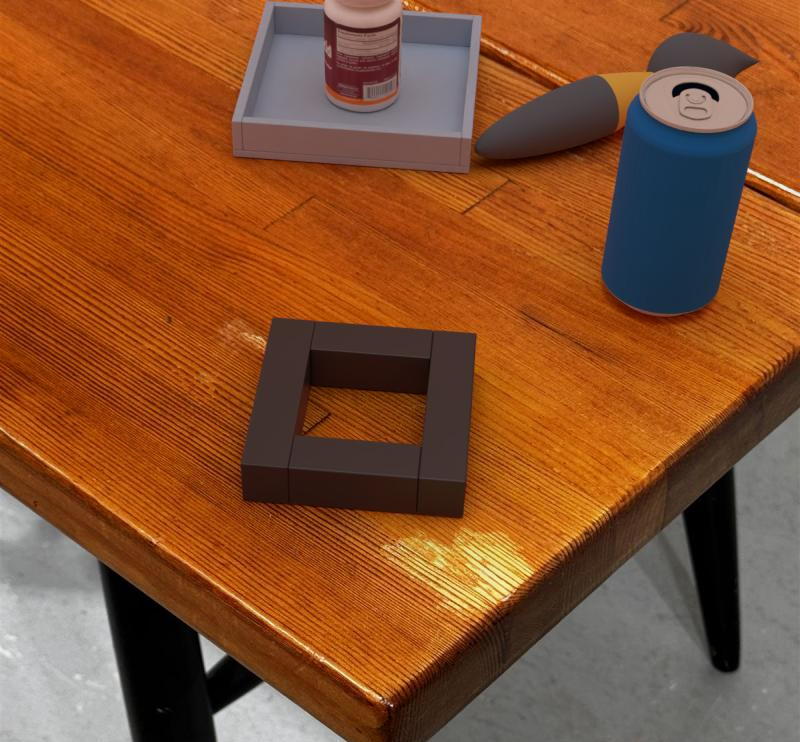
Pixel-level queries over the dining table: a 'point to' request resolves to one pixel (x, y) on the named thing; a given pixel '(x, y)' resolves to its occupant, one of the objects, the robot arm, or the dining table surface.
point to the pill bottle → (362, 53)
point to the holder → (358, 459)
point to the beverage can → (678, 190)
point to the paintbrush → (599, 101)
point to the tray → (349, 130)
